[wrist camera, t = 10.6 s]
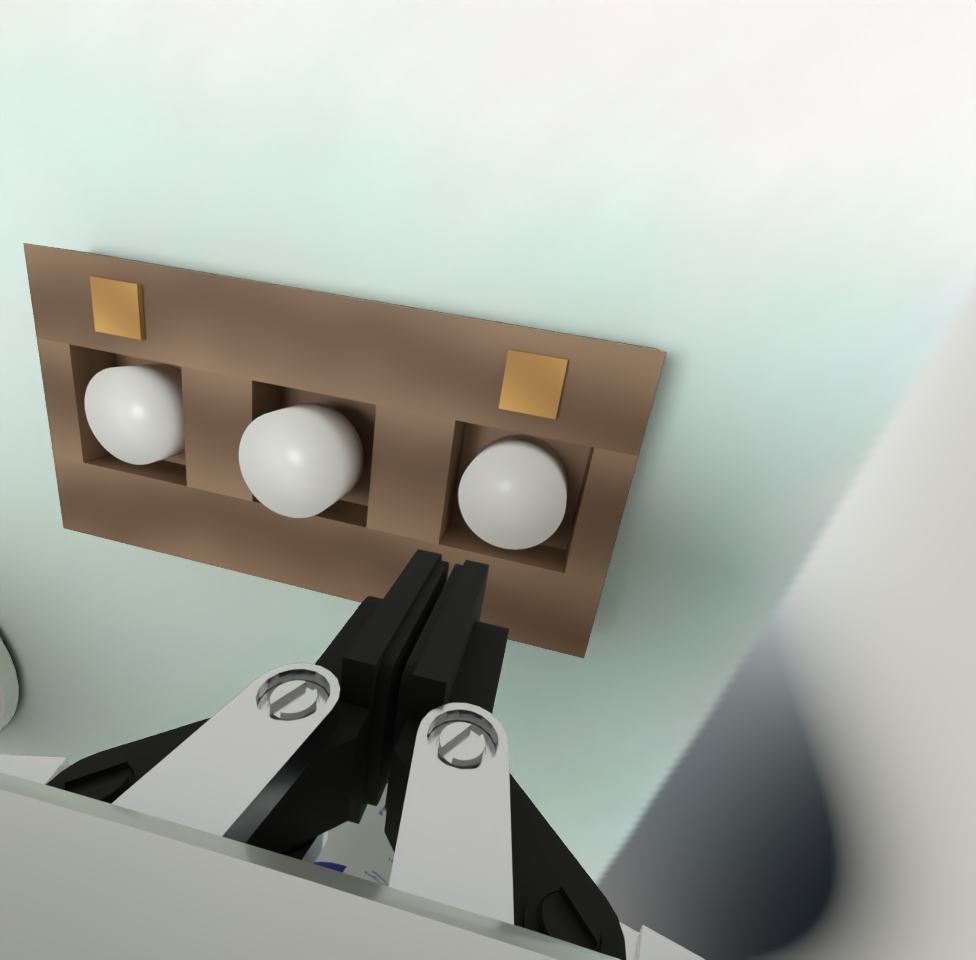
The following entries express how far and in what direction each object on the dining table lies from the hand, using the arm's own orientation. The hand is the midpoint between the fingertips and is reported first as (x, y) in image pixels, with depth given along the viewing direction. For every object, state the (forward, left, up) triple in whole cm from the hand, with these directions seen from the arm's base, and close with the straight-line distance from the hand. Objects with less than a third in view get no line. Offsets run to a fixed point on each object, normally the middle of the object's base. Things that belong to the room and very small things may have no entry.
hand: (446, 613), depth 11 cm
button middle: (0, +8, -8) cm, 11 cm away
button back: (0, +16, -9) cm, 18 cm away
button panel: (0, +8, -10) cm, 12 cm away
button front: (0, 0, -9) cm, 9 cm away
